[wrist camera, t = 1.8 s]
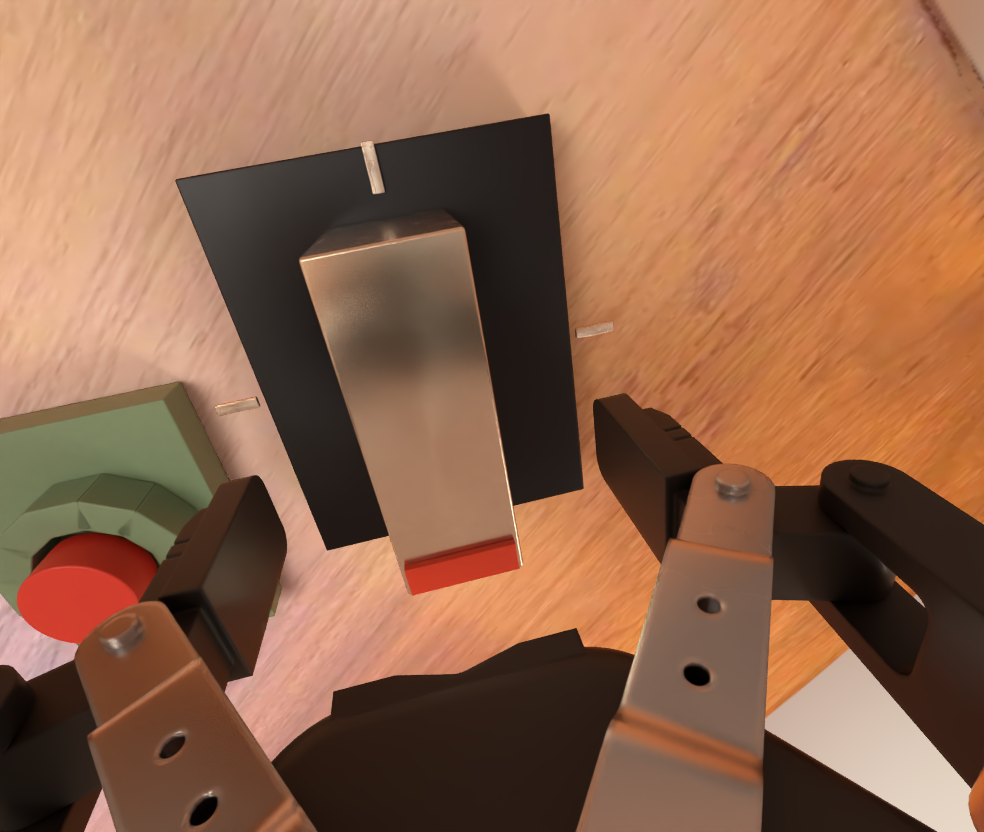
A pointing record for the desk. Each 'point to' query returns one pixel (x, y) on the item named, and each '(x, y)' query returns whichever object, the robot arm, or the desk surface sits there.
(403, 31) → the desk surface
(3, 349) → the desk surface
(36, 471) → the green rectangular block
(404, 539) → the silver metal block
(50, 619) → the button
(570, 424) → the black flat square plate
